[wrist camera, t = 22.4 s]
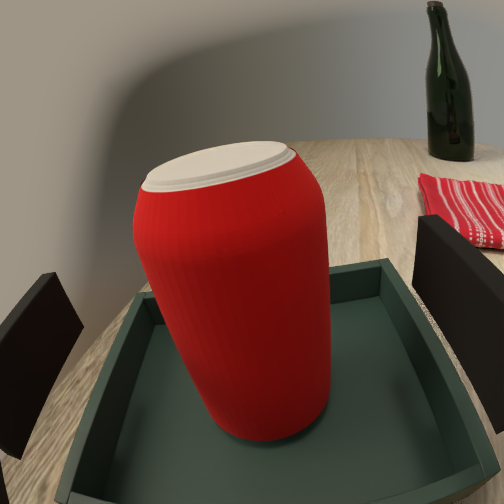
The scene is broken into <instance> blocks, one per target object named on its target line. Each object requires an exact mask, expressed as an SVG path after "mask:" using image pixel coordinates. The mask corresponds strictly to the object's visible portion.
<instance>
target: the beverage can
mask: <svg viewBox="0 0 504 504" xmlns="http://www.w3.org/2000/svg"><path fill="white" fill-rule="evenodd" d="M133 238H134V243H135V246H136V249H137V252H138V255H139V257H140V260H141V263H142V265H143V268H144V270H145V273H146V276H147V278H148V281H149V284H150V286H151V289H152V291H153V294H154V296H155V299H156V301H157V303H158V306H159V308H160V311H161V313H162V315H163V318H164V320H165V322H166V325H167V327H168V329H169V331H170V334H171V336H172V338H173V340H174V343H175V345H176V347H177V349H178V351H179V353H180V356H181V358H182V360H183V362H184V364H185V366H186V368H187V370H188V372H189V374H190V376H191V378H192V380H193V383H194V385H195V386H196V388H197V390H198V392H199V394H200V396H201V398H202V400H203V402H204V404H205V406H206V408H207V410H208V412H209V413H210V415H211V417H212V418H213V420H214V421H215V422H216V423H217V424H218V425H219V426H220V427H221V428H222V429H223V430H225V431H227V432H228V433H230V434H232V435H234V436H236V437H239V438H242V439H246V440H252V441H272V440H278V439H282V438H285V437H288V436H291V435H293V434H295V433H297V432H299V431H301V430H302V429H304V428H305V427H307V426H308V425H309V424H311V423H312V422H313V421H314V420H315V419H316V418H317V417H318V415H319V414H320V413H321V411H322V410H323V408H324V406H325V405H326V402H327V400H328V397H329V393H330V384H331V314H330V281H329V259H328V241H327V226H326V213H325V203H324V197H323V194H322V191H321V188H320V186H319V184H318V182H317V180H316V178H315V177H314V175H313V174H312V173H311V171H310V170H309V169H308V167H307V166H306V164H305V163H304V162H303V160H302V159H301V158H300V156H299V155H298V154H297V152H296V151H295V150H294V149H292V148H289V147H287V146H286V145H285V144H283V143H279V142H272V141H255V142H244V143H236V144H229V145H224V146H218V147H214V148H210V149H205V150H201V151H198V152H194V153H191V154H187V155H185V156H181V157H179V158H176V159H174V160H171V161H169V162H166V163H164V164H162V165H160V166H158V167H156V168H155V169H153V170H152V171H151V172H150V173H149V174H148V176H147V178H146V179H145V180H144V181H143V182H142V183H141V186H140V189H139V194H138V198H137V204H136V208H135V213H134V218H133Z"/></svg>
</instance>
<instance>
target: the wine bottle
mask: <svg viewBox="0 0 504 504" xmlns="http://www.w3.org/2000/svg"><path fill="white" fill-rule="evenodd" d="M427 5H428V7H427V15H428V18H429V23H430V29H431V50H430V55H429V59H428V63H427V67H426V75H425V84H426V104H427V127H428V151H429V153H430V154H432V155H433V156H435V157H438V158H442V159H448V160H456V161H467V160H471V159H472V158H473V157H474V149H475V141H474V139H475V138H474V137H475V136H474V111H473V98H472V91H471V83H470V79H469V76H468V73H467V70H466V68H465V66H464V64H463V62H462V59H461V58H460V55H459V53H458V51H457V49H456V46H455V44H454V41H453V37H452V33H451V30H450V25H449V21H448V13H447V11H446V9H445V8H444V7H443V4H442V3H441V2H438V1H429V2H427Z"/></svg>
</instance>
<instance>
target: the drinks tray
mask: <svg viewBox="0 0 504 504" xmlns="http://www.w3.org/2000/svg"><path fill="white" fill-rule="evenodd" d="M329 281H330V314H331V384H330V393H329V397H328V400H327V402H326V405H325V406H324V408H323V410H322V411H321V413H320V414H319V415H318V417H317V418H316V419H315V420H314V421H313V422H312V423H311V424H309V425H308V426H307V427H305V428H304V429H302V430H301V431H299V432H297V433H295V434H293V435H291V436H288V437H285V438H282V439H278V440H272V441H252V440H246V439H242V438H239V437H236V436H234V435H232V434H230V433H228V432H227V431H225V430H223V429H222V428H221V427H220V426H219V425H218V424H217V423H216V422H215V421H214V420H213V418H212V417H211V415H210V413H209V412H208V410H207V408H206V406H205V404H204V402H203V400H202V398H201V396H200V394H199V392H198V390H197V388H196V386H195V385H194V383H193V380H192V378H191V376H190V374H189V372H188V370H187V368H186V366H185V364H184V362H183V360H182V358H181V356H180V353H179V351H178V349H177V347H176V345H175V343H174V340H173V338H172V336H171V334H170V331H169V329H168V327H167V325H166V322H165V320H164V318H163V315H162V313H161V311H160V308H159V306H158V303H157V301H156V299H155V296H154V294H153V291H151V292H147V293H146V292H141V293H137V294H136V296H135V298H134V300H133V302H132V304H131V306H130V308H129V310H128V312H127V314H126V316H125V318H124V321H123V323H122V325H121V327H120V329H119V331H118V333H117V335H116V338H115V340H114V342H113V344H112V346H111V349H110V351H109V353H108V355H107V358H106V360H105V362H104V365H103V367H102V369H101V372H100V374H99V376H98V379H97V381H96V383H95V386H94V388H93V391H92V393H91V396H90V398H89V401H88V403H87V406H86V408H85V411H84V413H83V416H82V418H81V421H80V424H79V426H78V429H77V432H76V435H75V437H74V440H73V443H72V446H71V449H70V451H69V454H68V457H67V460H66V463H65V466H64V469H63V472H62V476H61V479H60V482H59V485H58V488H57V492H56V495H55V499H54V501H55V502H57V503H59V504H451V503H453V502H456V501H458V500H460V499H462V498H465V497H467V496H469V495H470V494H472V493H473V492H474V491H476V490H477V489H478V488H480V487H481V486H482V485H483V484H485V483H486V482H487V481H489V480H490V479H491V478H492V477H493V476H495V475H496V474H497V473H498V472H499V471H500V470H501V469H500V466H499V463H498V461H497V458H496V456H495V453H494V451H493V448H492V446H491V443H490V441H489V438H488V436H487V434H486V431H485V429H484V427H483V424H482V422H481V420H480V418H479V416H478V413H477V411H476V409H475V407H474V405H473V403H472V401H471V399H470V397H469V394H468V392H467V390H466V388H465V386H464V384H463V382H462V381H461V379H460V377H459V375H458V373H457V371H456V369H455V367H454V365H453V363H452V362H451V360H450V358H449V356H448V354H447V352H446V351H445V349H444V347H443V345H442V343H441V342H440V340H439V338H438V336H437V335H436V333H435V331H434V330H433V328H432V326H431V324H430V323H429V321H428V319H427V318H426V316H425V314H424V313H423V311H422V310H421V308H420V306H419V305H418V303H417V301H416V300H415V298H414V297H413V295H412V294H411V292H410V290H409V289H408V287H407V286H406V284H405V283H404V281H403V280H402V278H401V277H400V275H399V274H398V272H397V271H396V269H395V268H394V266H393V265H392V263H391V262H390V260H389V259H388V258H385V259H379V260H373V261H367V262H361V263H355V264H348V265H342V266H335V267H329Z"/></svg>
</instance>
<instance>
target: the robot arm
mask: <svg viewBox="0 0 504 504" xmlns="http://www.w3.org/2000/svg"><path fill="white" fill-rule="evenodd" d="M412 286H413V288H414V289H415V291H416V292H417V294H418V295H419V297H420V298H421V300H422V301H423V303H424V304H425V306H426V307H427V309H428V310H429V312H430V314H431V315H432V317H433V318H434V320H435V321H436V323H437V325H438V326H439V328H440V330H441V331H442V333H443V334H444V336H445V338H446V339H447V341H448V343H449V344H450V346H451V348H452V350H453V351H454V353H455V355H456V357H457V358H458V360H459V362H460V364H461V365H462V367H463V369H464V371H465V373H466V374H467V376H468V378H469V380H470V382H471V384H472V386H473V388H474V389H475V391H476V393H477V395H478V397H479V399H480V401H481V403H482V405H483V407H484V409H485V411H486V413H487V415H488V418H489V420H490V422H491V424H492V426H493V428H494V431H495V433H496V435H497V434H499V433H500V432H502V431H504V274H503V273H502V272H501V271H500V270H499V269H498V268H497V267H496V266H495V265H494V264H493V263H492V262H491V261H490V260H489V259H488V258H486V257H485V256H484V255H483V254H482V253H481V252H480V251H479V250H478V249H477V248H476V247H475V246H474V245H473V244H471V243H470V242H469V241H468V240H467V239H466V238H465V237H464V236H462V235H461V234H460V233H459V232H458V231H457V230H456V229H454V228H453V227H452V226H451V225H450V224H449V223H447V222H446V221H445V220H444V219H443V218H441V217H440V216H439V215H438V214H432V215H425V216H418V230H417V242H416V253H415V262H414V271H413V279H412ZM83 328H84V326H83V324H82V322H81V321H80V319H79V317H78V315H77V314H76V311H75V310H74V308H73V306H72V304H71V302H70V300H69V298H68V297H67V295H66V293H65V291H64V289H63V287H62V285H61V283H60V281H59V279H58V276H57V274H56V272H52V273H46V274H42V275H41V276H40V277H39V279H38V280H37V281H36V282H35V283H34V284H33V285H32V287H31V288H30V289H29V290H28V291H27V293H26V294H25V295H24V296H23V297H22V299H21V300H20V301H19V302H18V304H17V305H16V306H15V307H14V309H13V310H12V311H11V312H10V313H9V315H8V316H7V317H6V319H5V320H4V321H3V322H2V324H1V325H0V449H1V450H2V451H4V452H5V453H6V454H7V455H10V456H12V457H14V458H17V459H19V460H21V458H22V455H23V453H24V450H25V448H26V445H27V443H28V440H29V438H30V435H31V433H32V431H33V428H34V426H35V424H36V421H37V419H38V417H39V415H40V412H41V410H42V408H43V406H44V404H45V402H46V399H47V397H48V395H49V393H50V391H51V389H52V387H53V385H54V383H55V381H56V379H57V377H58V375H59V373H60V371H61V369H62V367H63V365H64V363H65V361H66V359H67V357H68V355H69V354H70V352H71V350H72V348H73V346H74V344H75V342H76V341H77V339H78V337H79V335H80V333H81V331H82V330H83ZM0 504H9V500H8V496H7V491H6V487H5V483H4V478H3V473H2V467H1V462H0Z"/></svg>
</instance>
